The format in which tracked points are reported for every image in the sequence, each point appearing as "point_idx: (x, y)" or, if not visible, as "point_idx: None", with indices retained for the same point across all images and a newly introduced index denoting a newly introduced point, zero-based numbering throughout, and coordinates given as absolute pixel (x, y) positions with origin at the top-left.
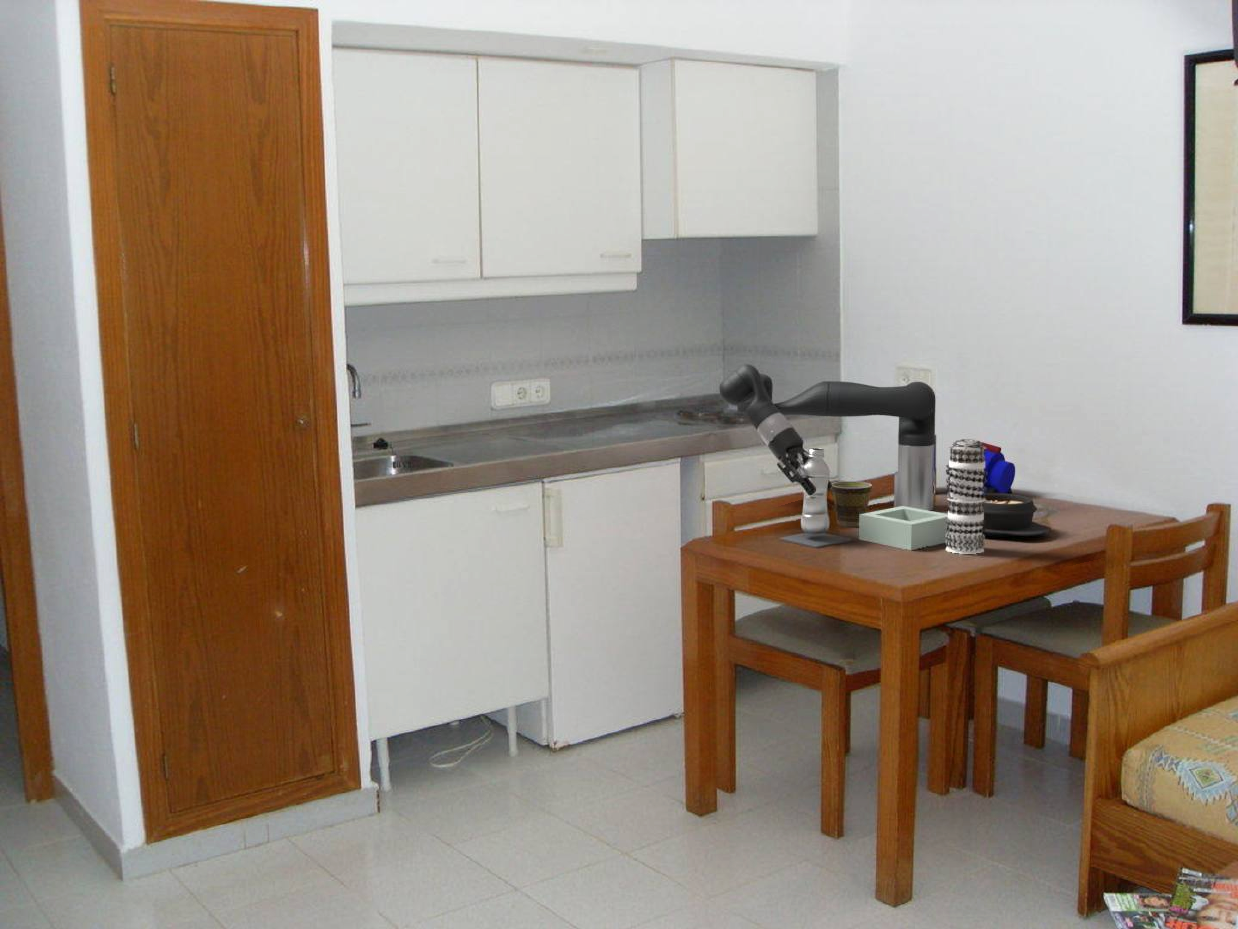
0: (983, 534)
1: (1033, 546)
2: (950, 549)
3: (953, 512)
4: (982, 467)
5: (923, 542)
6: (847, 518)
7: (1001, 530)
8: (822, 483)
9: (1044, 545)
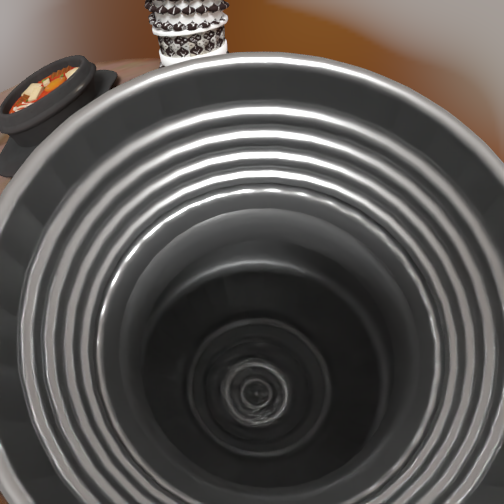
0: None
1: (139, 72)
2: None
3: (217, 45)
4: None
5: None
6: None
7: (98, 93)
8: (307, 300)
9: (130, 69)
